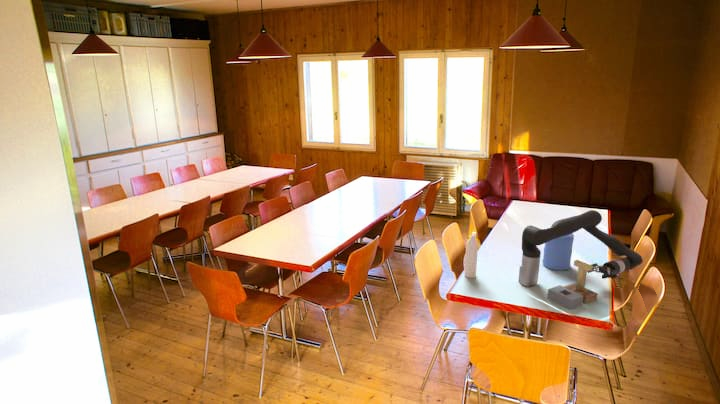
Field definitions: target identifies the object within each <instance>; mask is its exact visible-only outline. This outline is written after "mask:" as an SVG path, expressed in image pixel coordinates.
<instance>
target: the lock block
mask: <svg viewBox="0 0 720 404" xmlns="http://www.w3.org/2000/svg"><path fill="white" fill-rule="evenodd" d="M563 287H565V288H567V289H569V290H571V291H574V292H576V293H578V294H580V295H582V296H583V303H582V304H589V303H591V302H594V301H597V300H598V293H597V292H596V291H593V290H592V289H589V288H586V287H585V289H584V291H583V292H579V291H577V290H576V282H572V283H569V284H567V285H563Z"/></svg>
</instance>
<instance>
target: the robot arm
mask: <svg viewBox="0 0 720 404" xmlns="http://www.w3.org/2000/svg"><path fill="white" fill-rule="evenodd" d="M602 220H603V217H602V214H601V213H600V212H599V211H596V210H592V209H591V210H588V211H585V212H583V213H581V214H578V215H574V216H569V217H566V218H561V219H559V220H558V219H557V220H556V221H555V222H553V223H552V225H551V227H549V228H548V227H547V228H539V227H537V226H534V225H527V226H526V227H524V229H523V230H522V235H521V250H522V256H521V257H522V258H521V265H520V266H519V271H518V272H519V274H518V281H517V282H518V283H519V284H520V285H522V286H524V287H528V288H531V287H535V286H538V281H539V271H540V262H541V253H542V252H541V250H540V248H539V247H538V246H542V245H543V244H544V245H545V243H546V242H548V241H551V240H553V239H556V238H559V237H563V236H566V235H570V234H572V233H573V234H574V233H576V232H578V231H579V230H581V229H583V230H584V231H585V232H587V233H589V234H590V235H591V236H593V237H595V238H596V239H597V240H598V241H599V242H601V243H602V244H604V245H605V246H606V247H607V248H608V249H610V251H611V252H612V253H614V254H615V255H616V256H617V257H620V258H616V259H613V260H610V261H606V262H604V263H603V264H602V265H598V264H599V263H592V264H590V265H591V266H593V269H592V271H587V274H590V273H592V272H596V273H601V279H603V280H604V279H610V280H614V279H616V278H619V276H620V274H621V273H623V272H626V271H630V270H633V269H634V268H637V267H639V266H641V264H642V263H643V262H644V259H643V257H642V256H641V255H640V253H638V252H636V251H635V250H633V249H631V248H629V247H628V246H626V245H625V244H624V243H623V241H621V240H620V239H619V238H618V237H615V236H614V235H611V234H609V233H606V232H604V231H602V230H601V229H599V228H598V227H597V226H599V225H600V224H601V223H602ZM622 256H625V257H622Z"/></svg>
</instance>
